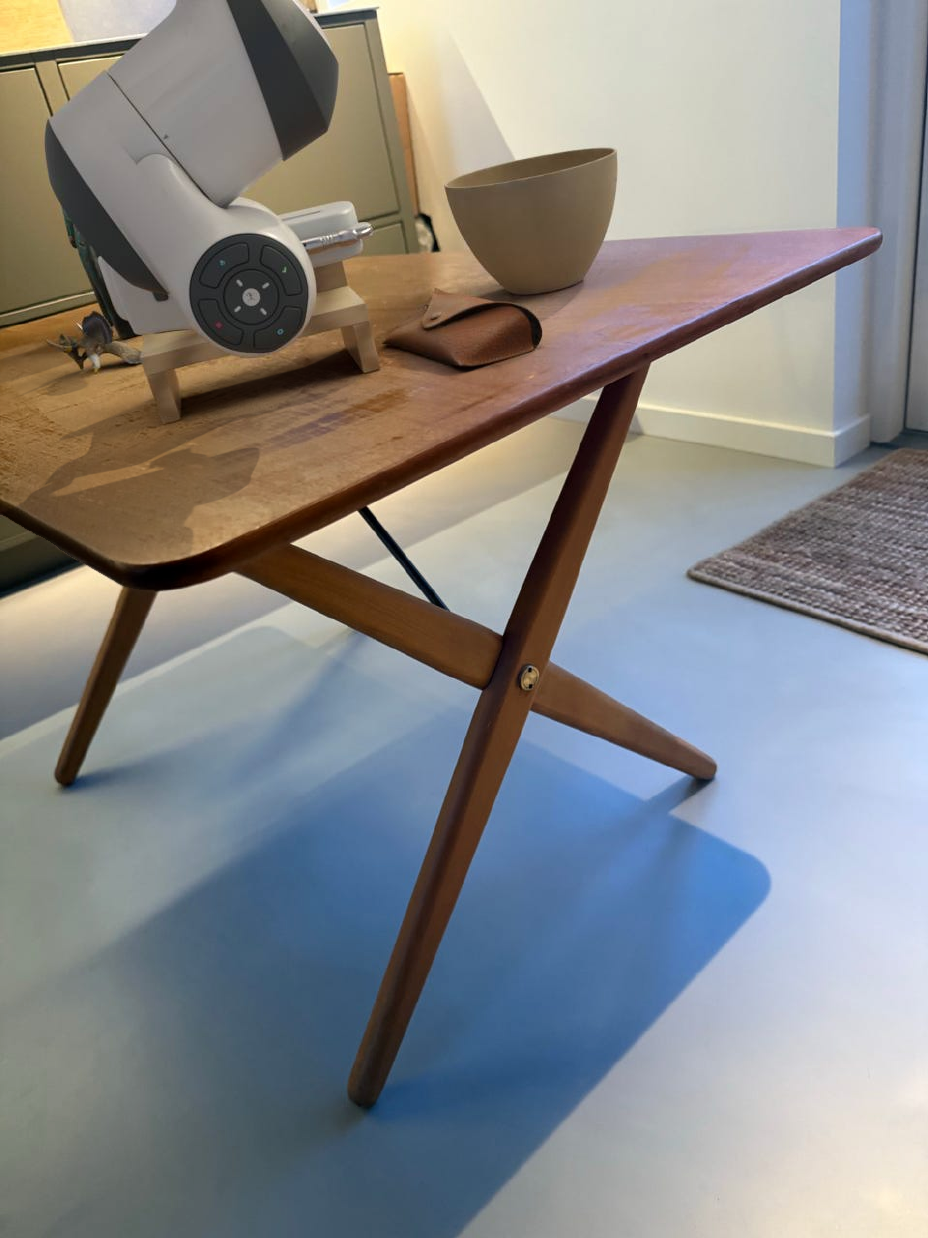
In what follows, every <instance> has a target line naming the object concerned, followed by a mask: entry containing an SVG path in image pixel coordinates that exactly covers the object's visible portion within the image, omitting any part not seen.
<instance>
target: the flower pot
mask: <svg viewBox="0 0 928 1238" xmlns="http://www.w3.org/2000/svg"><path fill="white" fill-rule="evenodd" d="M617 182H618V150H617V149H616V148H615V147H614V148H613V147H590V148H579V149H571V150H566V151H559V152H553V153H548V154H541V155H535V156H531V157H526V158H520V159H516V160H512V161H507V162H504V163H503V162H502V163H499V164H495V165H490V166H487V167H483V168H480V169H477V170H473V171H471V172H467V173H464V174H461V175H459V176H456V177H453V178H451V179H449V180H447V181H446V182H445V183H444V185H443V187H444V190H445V195H446V199H447V202H448V205H449V208H450V211H451V214H452V216H453V219H454V222H455V225H456V226H457V228H458V231H459V232H460V235H461V237H462V238H463V240H464V242H465V243H466V246H467V247H468V249H469V250H470V252H471V253H472V255H473V256H474V257H475V259H476V260H477V262H479V264H480V265H481V267H482V268H483V269H484V270H485V271H486V272H487V273H488V275H490V276H491V277H492V278H493V280H495V281H496V282H497V284H499V285H500V286H501V287H502V288H503V289H505V290H506V291H507V292H509V293H511V294H514V295H520V296H521V295H522V296H523V295H524V296H525V295H528V296H529V295H538V294H546V293H550V292H554V291H558V290H559V291H560V290H563V289H567V288H569V287H571V286H574V285H577V284H578V283H580V282H581V281H582V280H583V279H585V277H586V275H587V274H588V272H589V270H590V269H591V267H592V265H593V263H594V262H595V260H596V258H597V255H598V253H599V252H600V250H601V247H602V246H603V243H604V240H605V238H606V235H607V233H608V230H609V227H610V223H611V219H612V215H613V210H614V206H615V200H616V193H617V184H618V183H617Z"/></svg>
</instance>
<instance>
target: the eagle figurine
mask: <svg viewBox="0 0 928 1238" xmlns="http://www.w3.org/2000/svg"><path fill="white" fill-rule="evenodd" d="M75 325H76V326H77V328H78V329H79V330H80V331H81V332H82V334H83V337H82V338H81V339H79V340H76V339H75V338H73V337H72V336H71V335H66V336H65V334H63V333H60V335H59V336H58V342H59V344H60V345H59V344H57V343H54V342H52V341H50V340H48V339H44V342H45V343H46V344H47V345H48V346H49V347H51V348H52V349H54V350H58V351H60V352H63V353H65V354H67V356H68V357H70V358H71V359H72V360H73V361H74V362H75V363H76V365H77V366H78V367H79V369H80V370H81V371H83V370H84V367H85V366H84V364H85V363H84V362H85V361H86V360H87V359H89V362H90V364H91V366H92V368H93V370H94V372H93V374H97V373H98V371H99V369H100V368H101V361H100V356H102V355H105V354H111V355H113V356H115V357H117V358H120V359H121V360H123V361H124V362H126V363H127V364H129V365H132V364H135V365H138V364H142V363H141V360H140V356H141V350H139V349H137V348H136V347H134V346H132V345H130V344H128V343H125V342H122V341H116V340H114V339H113V338H114V337H115V335H114V330H113V328H111V326H112V325H110V324H109V323H108V321H107V320H106V319H105V317H104V316H103V313H100V312H99V311H97V310H92V311H91V313H90V314H89V315H86V316H83V318H82V322H81V324H79V323H78V322H76V323H75ZM67 338H68V339H67ZM81 348H82V349H85V350H84V351H83V353H82V354H81V355H80V354H79V349H81Z"/></svg>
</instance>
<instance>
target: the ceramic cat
mask: <svg viewBox="0 0 928 1238" xmlns="http://www.w3.org/2000/svg"><path fill="white" fill-rule="evenodd" d="M61 211H62V214H63V219H64V225H65V230H66V233H67V237H68V241H69V243H70V245H71V247H72V248H73V249H77V253H78V256H79V259H80V261H81V264H82V267H83V269H84V271H85V273H86V276H87V279H88V281H89V283H90V286H91V288H92V291H93V294H94V296H95V299H96V302H97V304H98V306H99V308H100V311H101V314H102V316H104V317H105V319H106V320H107V321H108V323H109V324H110V325H111V326H113V327H114V330H115V331H116V333H117V335H118V337H119V339H121V340H128V339H131V338H134V337H137V336H139V335H138V334H135V333H134V331H133V329H132V327H131V325H130V323H129V321H127V320H124V319H122V318H121V317H120V316H119V315H118V314H117V312H116V310H115V308H114V305H113V303H112V300H111V297H110V295H109V292H108V289H107V287H106V284H105V281H104V278H103V275H102V272H101V269H100V266H99V263H98V258H99V256H100V255H99V254H98V253H97V252H96V251H95V250H94V249H93V248H92V246H91V245H90V244H89V243H88V242H87V241H86V239H85V238H84V237H83V236H82V234H81V233H80V232H79V231H78V229H77V228H76V227H75V225H74V224H73V223H72V221H71V220H70V218H69V217H68V215H67V214H66V212H65V211H64V209H63V208H62V207H61Z"/></svg>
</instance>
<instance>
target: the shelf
mask: <svg viewBox="0 0 928 1238" xmlns="http://www.w3.org/2000/svg"><path fill="white" fill-rule="evenodd" d="M313 270H314V275H315V281H316V303H315V307H314V311H313V314H312V316H311V318H310V320H309V322H308V324H307V326H306V327H305V329H304V331H303V332H302V333H301V335H300V336H299V337H298V338H297V339H301V338H307V337H309V336H314V335H318V334H321V333H326V332H330V331H334V330H337V329H340V333H341V336H342V340H343V344H344V348H345V349H346V350H347V352H348V353H349V355H350V356H351V357H352V359H353V360H354V362H355V363H356V364H357V366H358V367H359V368H360V370H361V371H362V373H363V374H367V373H371V372H376V371H378V370H381V365H380V364H381V363H380V361H379V356H378V353H377V352H378V351H377V348H376V343H375V339H374V333H373V329H372V326H371V321H370V316H369V312H368V307H367V303H366V302H365V301H364V300H363V299H362V298H361V297H360V296H359V295H358V294H357V293H356V292H355V291H354V289H352V288H351V287H350V286H349V283H348V280H347V279H348V278H347V275H346V271H345V267H344V263H343V261H340V262H337V263H332V264H328V265H324V266H320V267H316V268H313ZM297 339H296V340H297ZM140 351H141V356H140V360H141V363H140V364H141V366H142V369H143V371H144V375H145V378H146V380H147V383H148V386H149V388H150V391H151V395H152V397H153V400H154V403H155V406H156V409H157V412H158V414H159V417H160V419H161V423H162V425H166V424H170V423H174V422H178V421H181V414H182V411H181V410H182V409H181V408H182V387H181V384H180V381H179V378H178V375H177V372H176V369H180V368H184V367H188V366H192V365H196V364H200V363H205V362H208V361H212V360H215V359H220V358H224V357H228V356H231V355H230V354H227V353H225V352H222V351H220V350H218V349H217V348H215V347H213V346H212V345H211V344H209V343H208V342H207V341H205V340H204V339H203V338H202V337H201V336H200V335H199V334H198V333H197V332H196V331H195V330H194V329H190V330H183V331H173V332H165V333H158V334H153V333H152V334H147V335H143V341H142V346H141V350H140Z"/></svg>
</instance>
